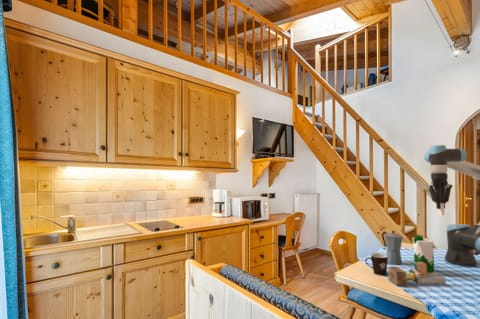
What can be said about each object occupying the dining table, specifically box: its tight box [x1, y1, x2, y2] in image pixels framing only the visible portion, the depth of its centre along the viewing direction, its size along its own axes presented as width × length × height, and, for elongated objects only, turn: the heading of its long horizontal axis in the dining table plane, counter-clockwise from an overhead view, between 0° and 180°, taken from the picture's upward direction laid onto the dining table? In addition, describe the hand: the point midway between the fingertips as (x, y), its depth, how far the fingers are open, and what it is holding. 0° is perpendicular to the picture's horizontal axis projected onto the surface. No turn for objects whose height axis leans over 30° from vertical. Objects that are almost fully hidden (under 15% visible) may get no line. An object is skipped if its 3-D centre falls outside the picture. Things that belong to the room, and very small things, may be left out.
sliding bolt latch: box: [408, 268, 447, 286], centre depth 141 cm, size 14×7×6 cm, turn 90°
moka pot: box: [381, 230, 404, 266], centre depth 171 cm, size 10×15×20 cm, turn 24°
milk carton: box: [412, 234, 435, 273], centre depth 155 cm, size 9×9×20 cm
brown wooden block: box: [387, 266, 408, 287], centre depth 141 cm, size 5×7×7 cm
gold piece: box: [406, 262, 427, 282], centre depth 141 cm, size 16×4×9 cm, turn 90°
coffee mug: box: [364, 252, 388, 276], centre depth 155 cm, size 12×9×10 cm
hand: (441, 214), depth 153 cm, fingers closed
